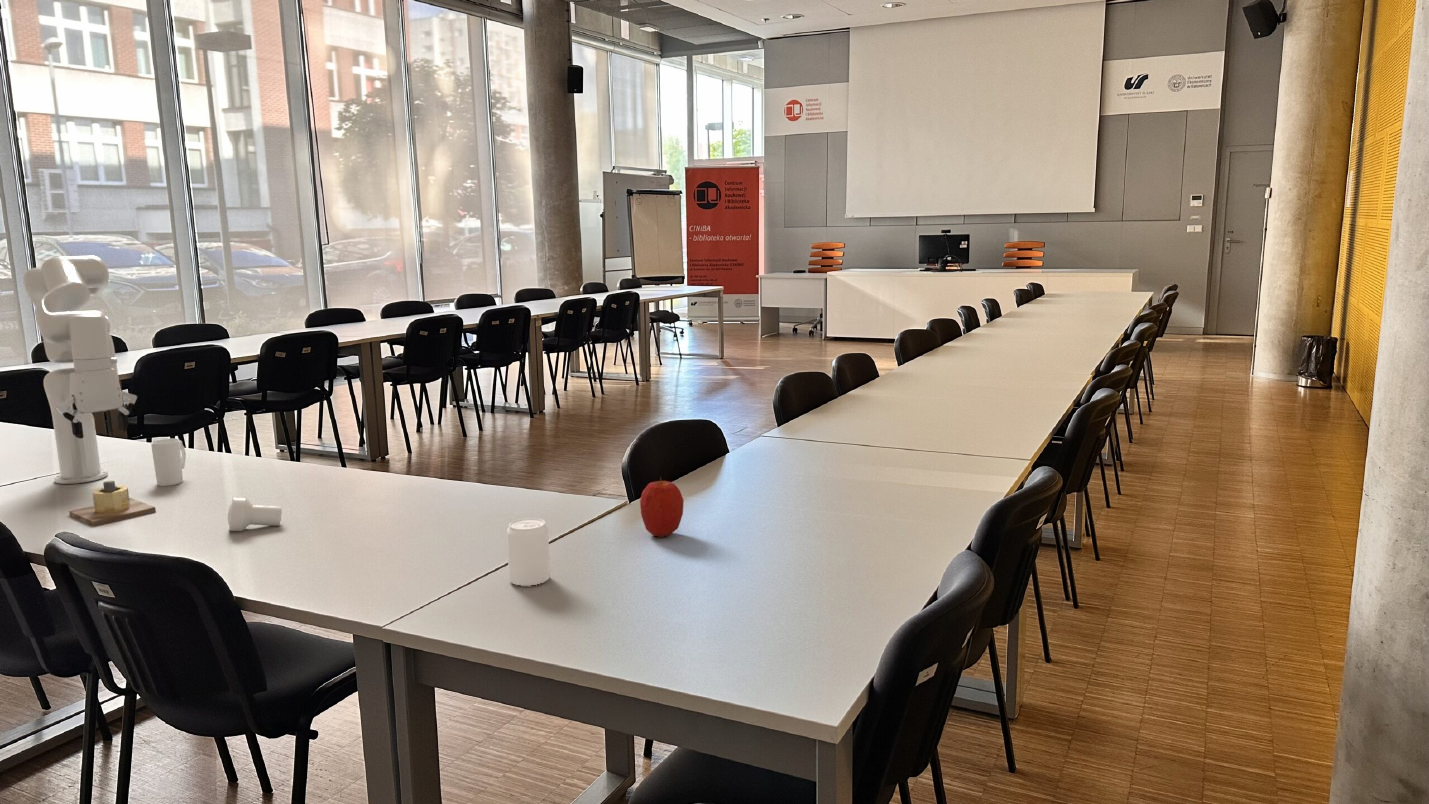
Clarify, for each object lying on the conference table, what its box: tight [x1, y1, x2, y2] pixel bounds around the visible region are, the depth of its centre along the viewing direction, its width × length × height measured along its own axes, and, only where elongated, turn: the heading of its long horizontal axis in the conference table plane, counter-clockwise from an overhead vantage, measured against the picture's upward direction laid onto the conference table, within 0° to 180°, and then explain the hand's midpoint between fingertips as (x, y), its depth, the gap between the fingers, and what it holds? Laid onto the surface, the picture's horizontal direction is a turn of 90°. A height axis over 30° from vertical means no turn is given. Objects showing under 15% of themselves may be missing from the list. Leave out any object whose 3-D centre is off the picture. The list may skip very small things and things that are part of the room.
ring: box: [92, 485, 130, 514], centre depth 230 cm, size 7×7×5 cm
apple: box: [639, 476, 685, 538], centre depth 212 cm, size 10×10×14 cm
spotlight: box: [227, 495, 283, 532], centre depth 219 cm, size 8×11×8 cm
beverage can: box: [506, 517, 551, 587], centre depth 185 cm, size 8×8×12 cm
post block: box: [68, 480, 157, 527], centre depth 230 cm, size 14×14×8 cm
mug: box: [150, 438, 187, 487], centre depth 259 cm, size 10×7×12 cm, turn 169°
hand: (101, 434), depth 227 cm, fingers open, 9 cm apart
